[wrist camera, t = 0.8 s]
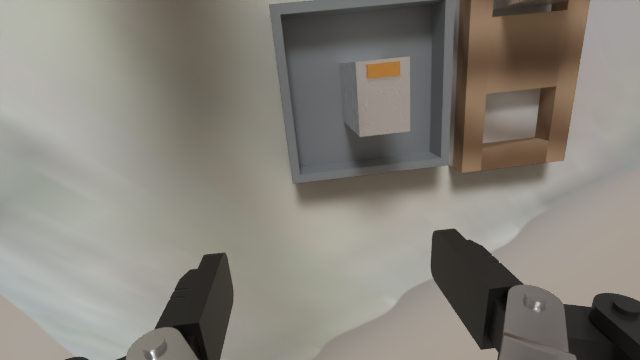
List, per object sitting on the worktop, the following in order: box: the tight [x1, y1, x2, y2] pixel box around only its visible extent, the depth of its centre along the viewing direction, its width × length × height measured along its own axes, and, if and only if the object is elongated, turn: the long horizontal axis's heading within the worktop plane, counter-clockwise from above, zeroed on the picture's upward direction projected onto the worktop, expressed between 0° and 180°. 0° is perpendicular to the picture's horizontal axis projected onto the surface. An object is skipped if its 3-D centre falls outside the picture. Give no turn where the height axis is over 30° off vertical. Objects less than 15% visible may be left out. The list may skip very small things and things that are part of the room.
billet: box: [340, 56, 410, 137], centre depth 28 cm, size 4×6×8 cm
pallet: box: [449, 0, 590, 173], centre depth 31 cm, size 22×11×3 cm, turn 6°
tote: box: [269, 0, 455, 184], centre depth 31 cm, size 16×16×4 cm
